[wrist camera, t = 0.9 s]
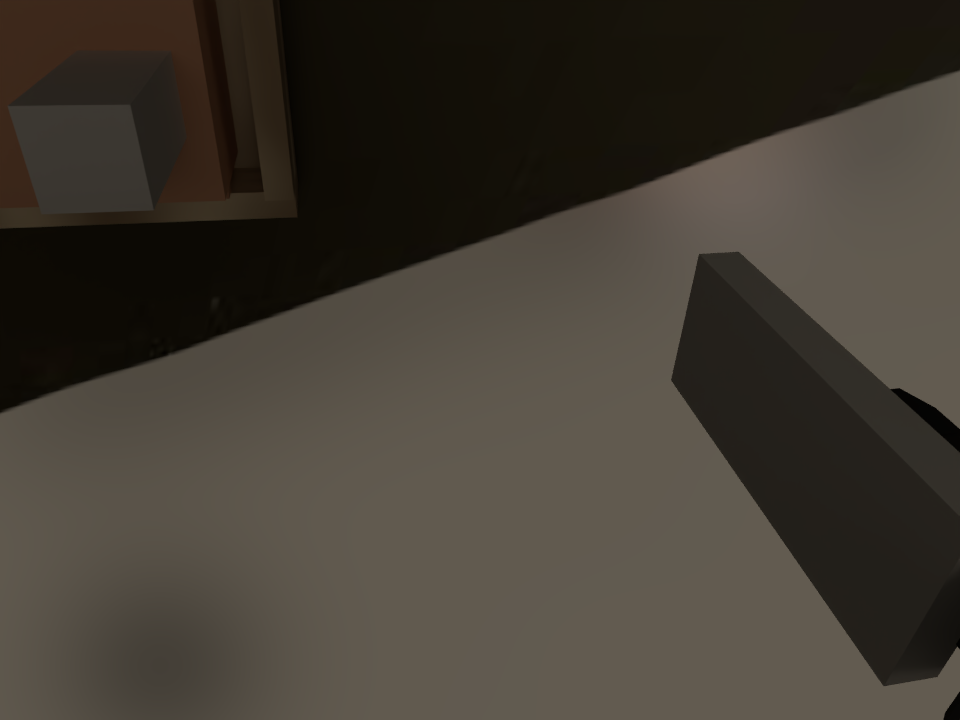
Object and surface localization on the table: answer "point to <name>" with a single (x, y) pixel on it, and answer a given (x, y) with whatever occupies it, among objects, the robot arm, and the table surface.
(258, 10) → the bay
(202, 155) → the brown block with post
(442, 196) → the table surface
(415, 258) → the table surface
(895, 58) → the table surface
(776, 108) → the table surface
